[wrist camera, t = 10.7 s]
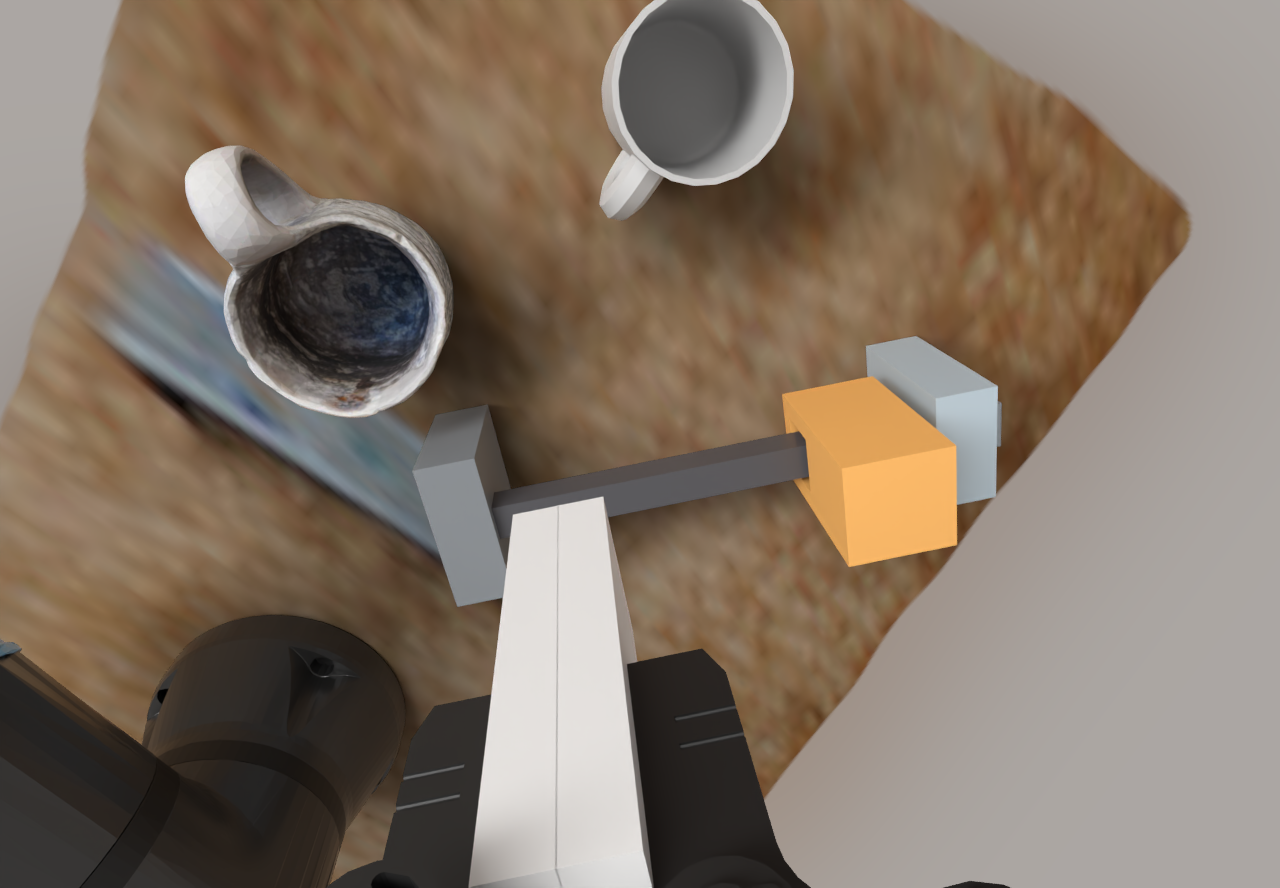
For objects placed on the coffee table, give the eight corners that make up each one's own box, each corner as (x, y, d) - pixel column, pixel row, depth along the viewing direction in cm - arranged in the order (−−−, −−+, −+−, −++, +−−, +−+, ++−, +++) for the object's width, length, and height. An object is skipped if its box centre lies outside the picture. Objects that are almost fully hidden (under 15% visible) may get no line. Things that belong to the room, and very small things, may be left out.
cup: (772, 74, 38) (830, 62, 30) (659, 245, 41) (683, 277, 33) (654, -23, 36) (682, -63, 28) (543, 164, 39) (538, 177, 31)
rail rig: (472, 534, 47) (453, 624, 38) (435, 414, 43) (406, 484, 35) (938, 440, 47) (1018, 509, 39) (936, 315, 44) (1023, 361, 36)
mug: (371, 406, 43) (319, 485, 34) (186, 226, 38) (68, 261, 29) (500, 298, 41) (484, 350, 32) (323, 96, 37) (245, 90, 27)
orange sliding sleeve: (790, 476, 43) (848, 566, 34) (782, 394, 41) (841, 468, 32) (877, 458, 43) (957, 544, 34) (872, 376, 41) (956, 445, 32)
